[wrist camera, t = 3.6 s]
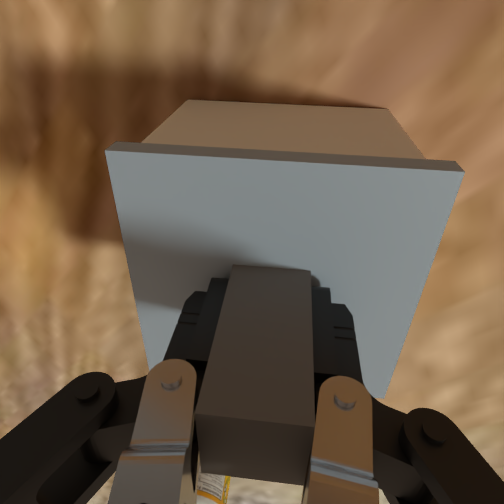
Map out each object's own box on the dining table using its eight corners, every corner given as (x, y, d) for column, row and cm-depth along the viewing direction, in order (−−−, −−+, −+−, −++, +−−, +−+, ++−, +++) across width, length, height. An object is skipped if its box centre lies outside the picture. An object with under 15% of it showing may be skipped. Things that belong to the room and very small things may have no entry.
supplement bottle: (199, 401, 32) (165, 535, 24) (249, 428, 33) (233, 564, 25) (166, 426, 34) (126, 554, 27) (214, 450, 36) (189, 579, 28)
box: (187, 99, 18) (134, 148, 12) (388, 108, 18) (430, 165, 12) (198, 259, 24) (165, 345, 18) (353, 272, 23) (370, 366, 17)
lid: (115, 141, 12) (-34, 261, 6) (455, 161, 11) (593, 315, 6) (155, 359, 17) (93, 515, 12) (380, 382, 17) (416, 560, 11)
